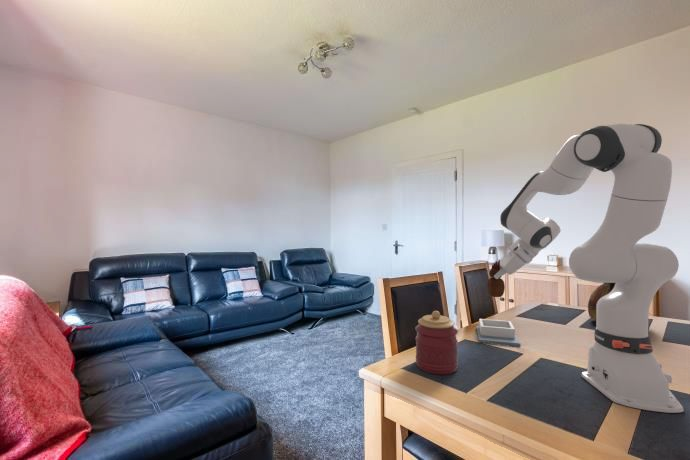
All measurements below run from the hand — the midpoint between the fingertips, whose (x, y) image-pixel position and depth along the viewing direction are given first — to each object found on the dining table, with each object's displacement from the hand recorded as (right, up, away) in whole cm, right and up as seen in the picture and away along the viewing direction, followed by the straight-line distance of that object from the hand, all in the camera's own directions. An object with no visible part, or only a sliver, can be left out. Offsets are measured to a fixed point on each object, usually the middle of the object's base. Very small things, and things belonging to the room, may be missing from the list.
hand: (494, 276), depth 131 cm
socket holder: (0, -24, -2) cm, 24 cm away
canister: (-31, -25, -28) cm, 49 cm away
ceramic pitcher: (+59, -23, +11) cm, 64 cm away
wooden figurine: (+1, -8, 0) cm, 8 cm away
